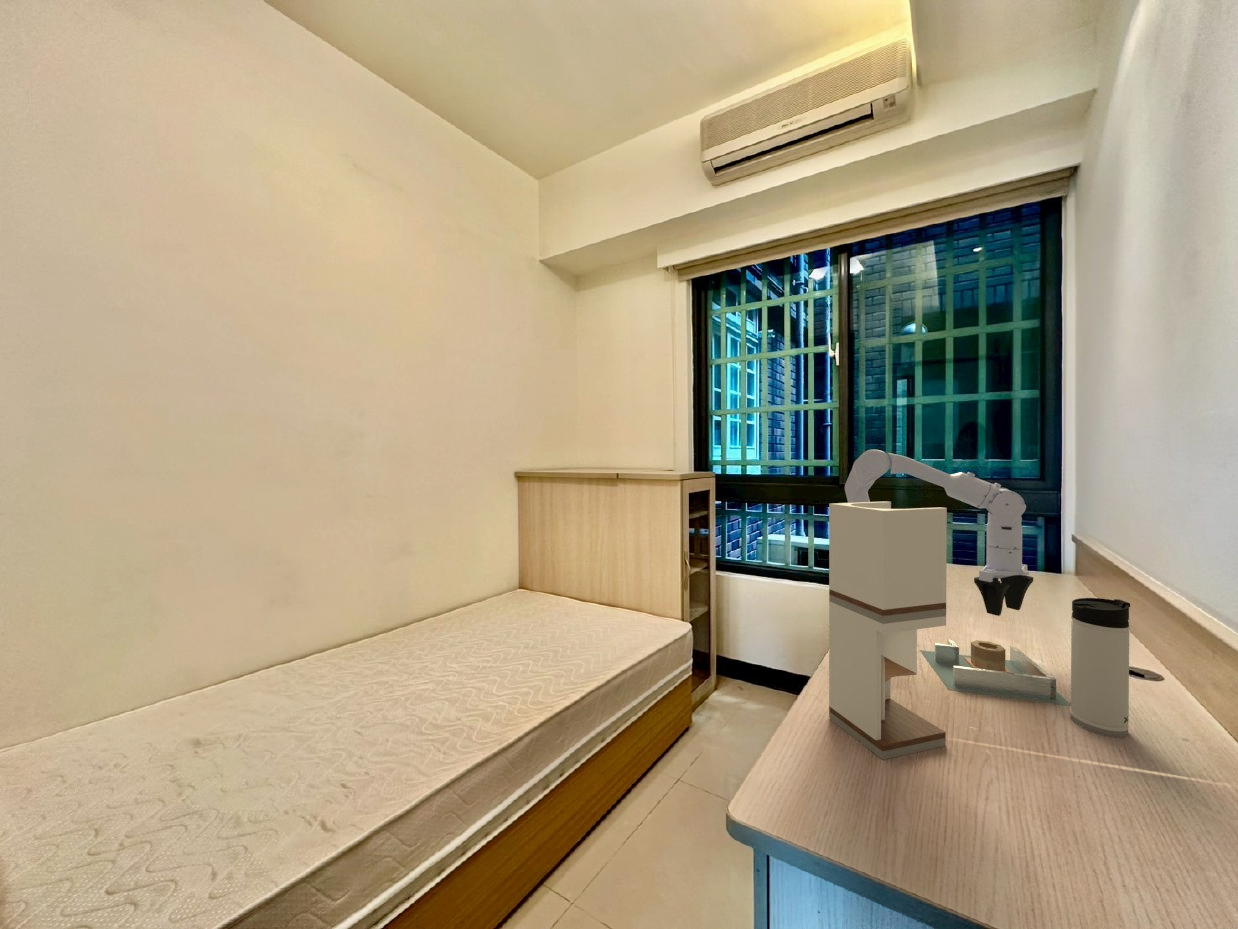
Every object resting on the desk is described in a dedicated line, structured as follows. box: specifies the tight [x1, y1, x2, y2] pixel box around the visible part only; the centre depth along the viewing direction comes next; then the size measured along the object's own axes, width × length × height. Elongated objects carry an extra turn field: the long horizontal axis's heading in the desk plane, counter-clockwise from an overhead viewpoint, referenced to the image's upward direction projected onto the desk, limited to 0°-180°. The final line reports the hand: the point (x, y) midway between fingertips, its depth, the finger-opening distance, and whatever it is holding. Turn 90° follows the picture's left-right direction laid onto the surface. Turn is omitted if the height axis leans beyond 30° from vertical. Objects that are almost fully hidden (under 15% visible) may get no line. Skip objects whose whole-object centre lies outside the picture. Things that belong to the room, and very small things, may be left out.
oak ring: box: [970, 639, 1006, 671], centre depth 92 cm, size 5×5×4 cm
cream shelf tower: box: [828, 500, 948, 760], centre depth 71 cm, size 11×11×35 cm
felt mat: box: [919, 649, 1071, 707], centre depth 89 cm, size 18×18×1 cm
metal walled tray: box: [934, 639, 1057, 700], centre depth 89 cm, size 15×15×4 cm
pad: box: [964, 657, 1011, 673], centre depth 92 cm, size 6×6×1 cm
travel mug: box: [1070, 597, 1131, 739], centre depth 72 cm, size 6×7×20 cm
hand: (1003, 611), depth 97 cm, fingers open, 7 cm apart
